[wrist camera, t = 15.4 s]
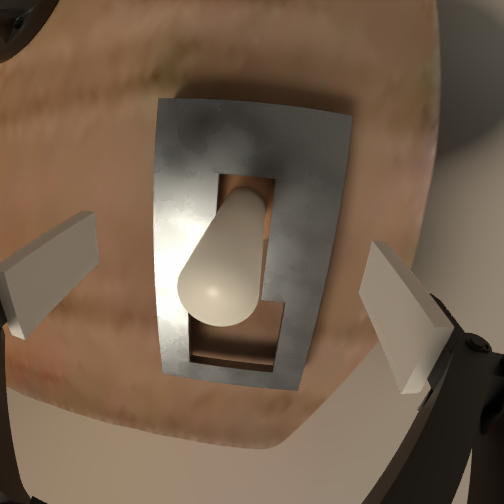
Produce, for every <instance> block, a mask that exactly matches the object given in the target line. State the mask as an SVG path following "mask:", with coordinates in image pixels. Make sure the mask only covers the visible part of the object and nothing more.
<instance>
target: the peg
mask: <svg viewBox="0 0 504 504" xmlns="http://www.w3.org/2000/svg"><path fill="white" fill-rule="evenodd" d="M274 187H275V179H271V178H262V177H252V176H242V175H231V174H221V180H220V194H219V208H218V212H217V214H216V215H215V217H214V218H213V220H212V222H211V223H210V225H209V226H208V228H207V230H206V231H205V233H204V234H203V236H202V238H201V239H200V241H199V243H198V244H197V246H196V248H195V249H194V251H193V252H192V254H191V256H190V257H189V259H188V261H187V262H186V264H185V266H184V267H183V269H182V271H181V273H180V275H179V277H178V282H177V292H178V296H179V299H180V301H181V303H182V305H183V307H184V308H185V309H186V311H187V312H188V313H189V314H190V315H192V316H193V317H194V318H196V319H197V320H199V321H201V322H203V323H206V324H209V325H213V326H231V325H234V324H237V323H240V322H242V321H243V320H245V319H246V318H248V317H249V316H250V315H251V314H252V312H253V311H254V309H255V308H256V306H257V303H258V299H259V288H260V276H261V264H262V251H263V240H265V239H267V238H269V229H270V221H271V213H272V204H273V196H274Z"/></svg>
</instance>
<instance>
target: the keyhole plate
mask: <svg viewBox="0 0 504 504" xmlns="http://www.w3.org/2000/svg"><path fill="white" fill-rule="evenodd" d="M352 123H353V116H351V115H345V114H340V113H335V112H329V111H323V110H317V109H310V108H303V107H296V106H288V105H280V104H271V103H261V102H250V101H236V100H219V99H188V98H162V99H158V110H157V124H156V140H155V162H154V264H155V286H156V303H157V317H158V329H159V341H160V351H161V360H162V369H163V373H164V374H169V375H174V376H180V377H185V378H191V379H197V380H204V381H210V382H217V383H225V384H232V385H241V386H250V387H259V388H270V389H282V390H297V391H298V387H299V384H300V380H301V377H302V373H303V370H304V366H305V363H306V359H307V355H308V351H309V348H310V344H311V340H312V336H313V332H314V328H315V324H316V320H317V316H318V312H319V307H320V303H321V299H322V295H323V290H324V286H325V281H326V277H327V272H328V267H329V262H330V258H331V253H332V248H333V243H334V238H335V232H336V227H337V222H338V216H339V210H340V205H341V199H342V193H343V187H344V181H345V174H346V167H347V161H348V154H349V146H350V139H351V131H352ZM221 174H231V175H242V176H252V177H262V178H271V179H275V187H274V196H273V204H272V213H271V221H270V229H269V238H268V246H267V254H266V262H265V270H264V278H263V286H262V294H261V300H267V301H277V302H284V307H283V312H282V318H281V324H280V329H279V335H278V340H277V346H276V351H275V356H274V362H273V365H264V364H255V363H246V362H237V361H229V360H221V359H214V358H207V357H201V356H194V355H192V352H191V315H190V314H189V313H188V312H187V311H186V309H185V308H184V307H183V305H182V303H181V301H180V299H179V296H178V292H177V282H178V277H179V275H180V273H181V271H182V269H183V267H184V266H185V264H186V262H187V261H188V259H189V257H190V256H191V254H192V252H193V251H194V249H195V248H196V246H197V244H198V243H199V241H200V239H201V238H202V236H203V234H204V233H205V231H206V230H207V228H208V226H209V225H210V223H211V222H212V220H213V218H214V217H215V215H216V214H217V212H218V208H219V194H220V180H221Z"/></svg>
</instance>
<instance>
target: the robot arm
mask: <svg viewBox="0 0 504 504" xmlns="http://www.w3.org/2000/svg"><path fill="white" fill-rule="evenodd" d="M57 1H58V0H0V63H2V62H5V61H7V60H9V59H10V58H12V57H13V56H14V55H16V54H17V53H18V52H19V51H21V50H22V49H23V48H24V47H25V46H26V45H27V44H28V43H29V42H30V41H31V39H32V38H33V37H34V36H35V35H36V34H37V32H38V31H39V30H40V28H41V27H42V26H43V24H44V23H45V21H46V20H47V18H48V17H49V15H50V14H51V12H52V10H53V9H54V7H55V5H56V3H57ZM99 263H100V262H99V253H98V244H97V233H96V220H95V212H92V211H81V212H80V213H78V214H76V215H74V216H73V217H71V218H69V219H67V220H66V221H64V222H62V223H61V224H59V225H57V226H56V227H54V228H53V229H51V230H49V231H48V232H46V233H44V234H43V235H41V236H40V237H38V238H37V239H35V240H33V241H32V242H30V243H29V244H27V245H26V246H24V247H23V248H21V249H20V250H18V251H17V252H15V253H14V254H12V255H11V256H9V257H8V258H7V259H5V260H4V261H2V262H1V263H0V504H47V503H45V502H43V501H41V500H39V499H37V498H35V497H33V496H32V498H30V497H29V495H28V494H27V492H26V491H25V489H24V487H23V485H22V482H21V479H20V475H19V471H18V466H17V462H16V458H15V452H14V447H13V442H12V435H11V428H10V422H9V413H8V405H7V393H6V377H5V334H4V331H3V328H2V326H3V325H4V324H5V323H6V322H7V323H8V326H9V329H10V331H11V334H12V335H14V336H16V337H19V338H22V339H24V340H25V339H26V338H27V337H28V336H29V335H30V334H31V333H32V331H33V330H34V329H35V328H36V327H37V326H38V325H39V324H40V323H41V322H42V321H43V319H44V318H45V317H46V316H47V315H48V314H49V313H50V312H51V311H52V310H53V309H54V308H55V307H56V306H57V305H58V304H59V303H60V302H61V301H62V300H63V299H64V298H65V296H66V295H67V294H68V293H69V292H70V291H71V290H72V289H73V288H74V287H75V286H76V285H77V284H78V283H79V282H80V281H82V280H83V279H84V278H85V277H86V276H87V275H88V274H89V273H90V272H91V271H92V270H93V269H94V268H95V267H96V266H97V265H98V264H99ZM359 295H360V297H361V299H362V302H363V304H364V306H365V308H366V311H367V313H368V315H369V317H370V320H371V322H372V324H373V327H374V329H375V331H376V334H377V336H378V338H379V341H380V343H381V345H382V348H383V350H384V353H385V355H386V358H387V360H388V362H389V365H390V367H391V370H392V372H393V375H394V378H395V380H396V383H397V385H398V388H399V391H400V393H401V394H408V393H420V391H421V389H422V388H423V386H424V384H425V383H426V381H427V380H428V382H429V384H430V386H431V389H430V391H429V392H428V394H427V396H426V397H425V399H424V400H423V402H422V403H421V405H420V406H419V408H418V411H419V412H418V414H417V416H416V418H415V420H414V422H413V423H412V425H411V427H410V429H409V431H408V433H407V434H406V436H405V438H404V440H403V442H402V443H401V445H400V447H399V449H398V450H397V452H396V453H395V455H394V457H393V458H392V460H391V462H390V463H389V465H388V466H387V468H386V470H385V471H384V472H383V474H382V476H381V477H380V478H379V480H378V481H377V483H376V484H375V486H374V487H373V489H372V490H371V491H370V493H369V494H368V496H367V497H366V498H365V500H364V501H363V502H362V504H451V503H452V501H453V498H454V496H455V494H456V491H457V489H458V486H459V484H460V481H461V478H462V476H463V473H464V470H465V467H466V465H467V461H468V459H469V456H470V452H471V449H472V462H471V475H470V485H469V493H468V501H467V504H504V354H499V353H495V352H492V348H491V346H490V345H489V343H488V342H487V341H486V340H484V339H483V338H482V337H480V336H478V335H476V334H472V333H465V332H464V331H463V329H462V328H461V327H460V325H459V324H458V323H457V321H456V320H455V319H454V318H453V316H451V313H450V312H449V311H448V310H446V307H445V306H444V304H443V303H442V302H441V301H440V300H439V299H438V298H436V297H435V296H434V295H432V294H430V293H428V292H427V290H426V289H425V288H424V286H423V285H422V284H421V283H420V281H419V280H418V279H417V278H416V276H415V275H414V274H413V273H412V271H411V270H410V269H409V268H408V267H407V265H406V264H405V263H404V262H403V261H402V259H401V258H400V257H399V256H398V255H397V254H396V252H395V251H394V250H393V249H392V248H391V247H390V245H389V244H388V243H387V242H379V241H372V243H371V247H370V252H369V256H368V260H367V264H366V267H365V271H364V275H363V279H362V282H361V286H360V290H359Z"/></svg>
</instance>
